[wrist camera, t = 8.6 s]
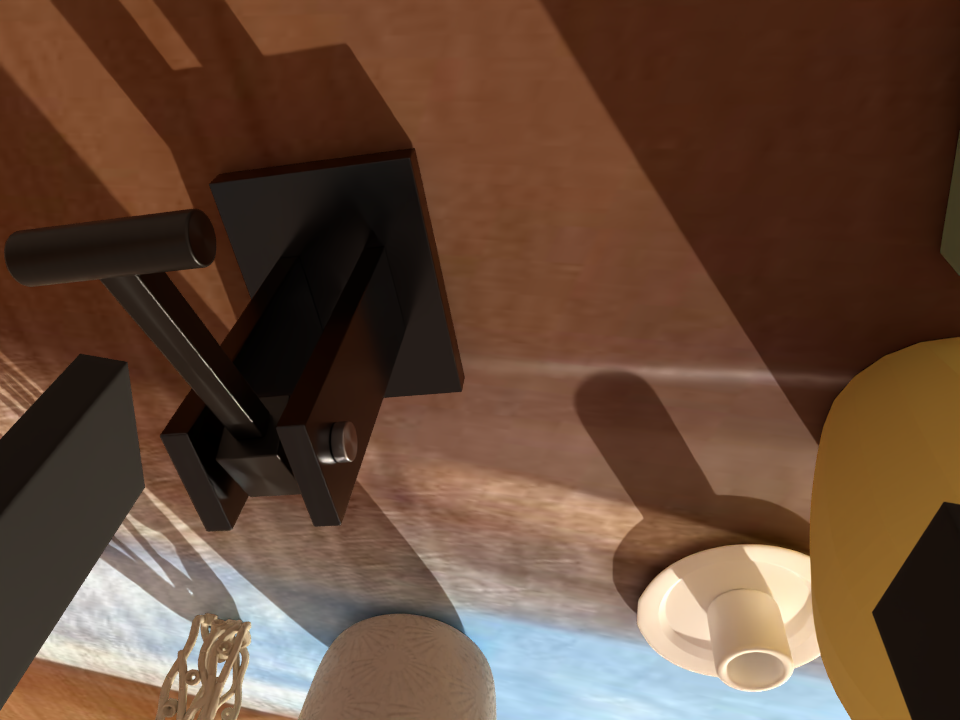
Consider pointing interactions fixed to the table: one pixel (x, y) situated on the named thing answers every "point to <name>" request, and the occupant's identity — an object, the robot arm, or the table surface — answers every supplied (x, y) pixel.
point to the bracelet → (209, 670)
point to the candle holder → (733, 614)
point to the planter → (401, 674)
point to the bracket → (324, 321)
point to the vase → (879, 508)
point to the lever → (166, 322)
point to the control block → (953, 219)
